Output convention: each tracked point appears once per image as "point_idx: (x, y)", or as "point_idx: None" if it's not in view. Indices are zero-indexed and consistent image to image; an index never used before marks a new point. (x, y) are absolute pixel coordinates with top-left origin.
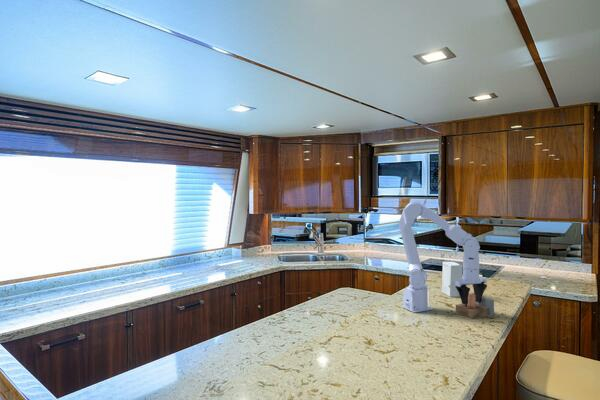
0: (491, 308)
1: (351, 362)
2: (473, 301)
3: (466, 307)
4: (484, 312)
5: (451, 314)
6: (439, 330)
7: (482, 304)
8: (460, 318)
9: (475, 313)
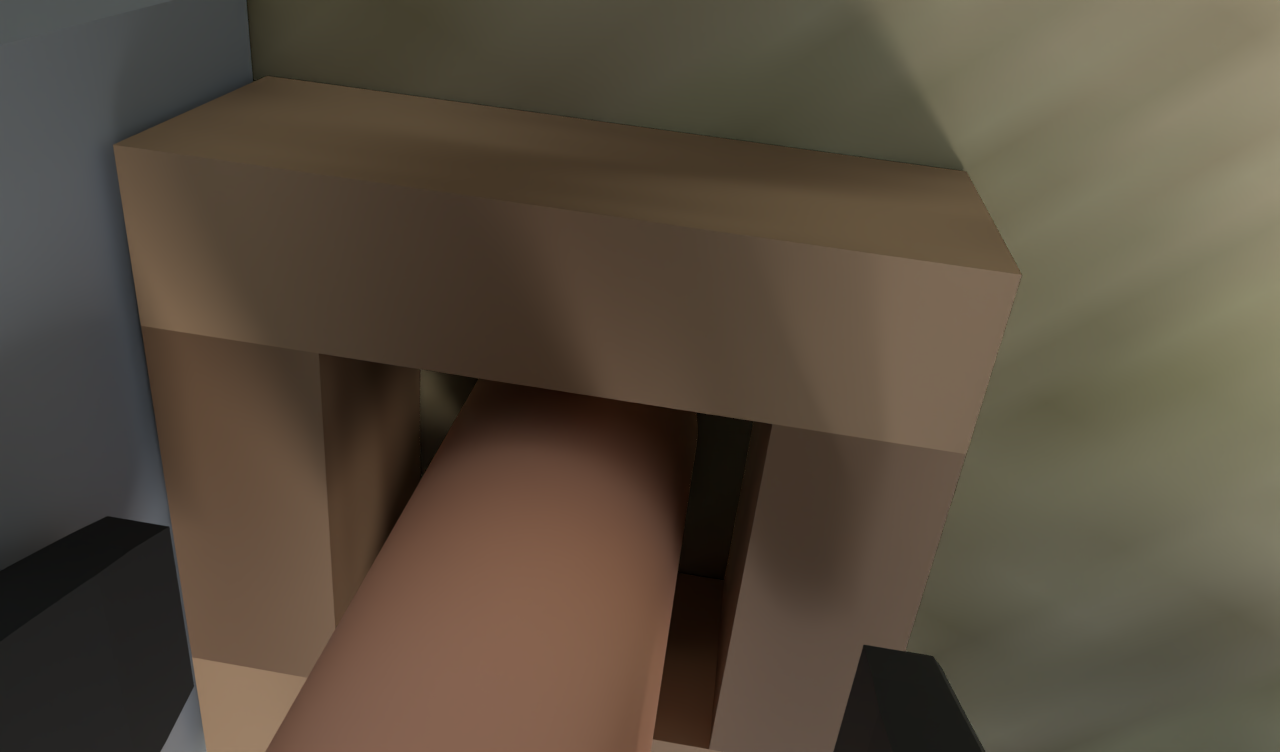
0: (2, 16)
1: None
2: (530, 630)
3: (797, 597)
4: (360, 128)
5: (1078, 675)
6: None
7: (95, 418)
8: (1240, 381)
9: (814, 202)
